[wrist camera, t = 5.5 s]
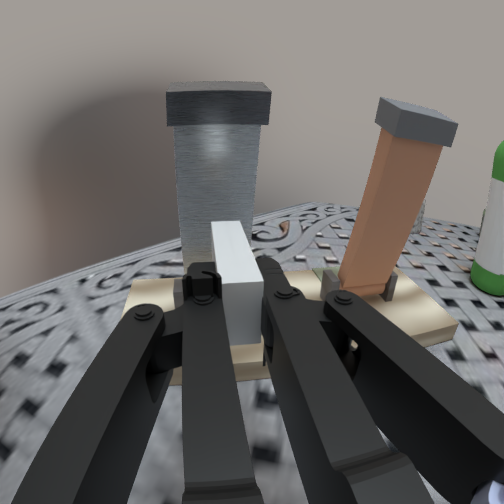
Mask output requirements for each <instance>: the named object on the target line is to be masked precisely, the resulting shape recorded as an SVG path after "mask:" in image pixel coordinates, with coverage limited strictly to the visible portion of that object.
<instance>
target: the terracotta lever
mask: <svg viewBox="0 0 504 504" xmlns="http://www.w3.org/2000/svg"><path fill="white" fill-rule="evenodd" d="M375 123H377V124H378V125H380V126H381V127H382V128H381V132H380V136H379V140H378V144H377V148H376V152H375V156H374V159H373V163H372V167H371V170H370V174H369V177H368V181H367V185H366V188H365V191H364V195H363V198H362V202H361V205H360V208H359V211H358V215H357V218H356V221H355V224H354V227H353V231H352V234H351V237H350V240H349V243H348V246H347V249H346V252H345V255H344V258H343V260H342V263H341V266H340V269H339V272H338V275H337V276H338V279H339V280H340V287H339V290H347V291H349V292H352V293H354V294H356V295H358V296H366V295H374V294H382V293H383V292H384V290H385V283H387V281H388V279H389V277H390V275H391V273H392V271H393V269H394V267H395V265H396V263H397V261H398V259H399V256H400V254H401V252H402V250H403V248H404V246H405V243H406V241H407V239H408V237H409V234H410V232H411V230H412V227H413V225H414V223H415V220H416V218H417V215H418V213H419V211H420V208H421V206H422V203H423V201H424V198H425V195H426V193H427V190H428V188H429V185H430V182H431V179H432V177H433V174H434V171H435V168H436V165H437V162H438V160H439V157H440V153H441V150H442V147H443V146H447V147H451V146H452V143H453V140H454V137H455V133H456V130H457V127H458V123H456V122H455V121H453V120H451V119H450V118H448V117H447V116H445V115H443V114H442V113H440V112H438V111H436V110H433V109H429V108H425V107H422V106H417V105H413V104H409V103H405V102H401V101H397V100H392V99H388V98H383V97H380V101H379V105H378V110H377V114H376V119H375Z"/></svg>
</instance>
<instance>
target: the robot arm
mask: <svg viewBox="0 0 504 504" xmlns="http://www.w3.org/2000/svg"><path fill="white" fill-rule="evenodd" d="M211 236H212V262H194V263H191V265H190V266H189V267H188V268H187V274H185V275H184V276H183V278H182V287H183V297H184V303H183V304H182V305H181V306H180V307H178V308H176V309H174V310H171V311H167V312H163V310H162V308H161V307H159V306H158V305H155V304H151V303H149V304H146V303H144V304H139V305H136V306H134V307H132V308H130V309H129V310H128V311H127V312H126V313H125V315H124V316H123V317H122V319H121V320H120V322H119V323H118V325H117V326H116V327H115V329H114V330H113V332H112V333H111V335H110V336H109V338H108V339H107V341H106V342H105V344H104V345H103V347H102V348H101V350H100V351H99V353H98V354H97V356H96V357H95V359H94V360H93V362H92V363H91V365H90V366H89V368H88V369H87V371H86V372H85V374H84V376H83V377H82V379H81V380H80V382H79V383H78V385H77V387H76V388H75V390H74V391H73V393H72V395H71V396H70V398H69V399H68V401H67V403H66V404H65V406H64V408H63V409H62V411H61V413H60V414H59V416H58V418H57V419H56V421H55V423H54V424H53V426H52V428H51V430H50V431H49V433H48V435H47V437H46V438H45V440H44V442H43V444H42V445H41V447H40V449H39V451H38V452H37V454H36V456H35V458H34V460H33V462H32V463H31V465H30V467H29V469H28V471H27V473H26V475H25V477H24V479H23V481H22V482H21V484H20V486H19V488H18V490H17V492H16V494H15V496H14V498H13V500H12V502H11V504H127V501H128V498H129V495H130V492H131V489H132V486H133V483H134V481H135V478H136V475H137V472H138V469H139V466H140V463H141V460H142V458H143V455H144V452H145V449H146V446H147V443H148V441H149V438H150V435H151V432H152V430H153V427H154V424H155V421H156V419H157V416H158V413H159V410H160V408H161V405H162V402H163V400H164V397H165V394H166V391H167V389H168V386H169V383H170V381H171V378H172V376H173V370H174V368H178V367H181V366H182V429H183V458H184V478H185V491H184V493H183V496H182V504H264V501H263V498H262V494H261V491H260V489H259V487H258V486H257V484H256V480H255V476H254V471H253V466H252V462H251V457H250V452H249V447H248V442H247V437H246V432H245V427H244V421H243V416H242V411H241V406H240V400H239V395H238V389H237V384H236V378H235V373H234V367H233V361H232V355H231V349H230V346H234V345H246V344H258V343H261V334H262V336H263V339H264V348H263V366H266V362H267V366H268V369H269V373H270V376H271V380H272V383H273V387H274V390H275V393H276V397H277V400H278V404H279V407H280V410H281V414H282V417H283V421H284V424H285V427H286V431H287V434H288V437H289V441H290V444H291V447H292V451H293V454H294V457H295V460H296V464H297V467H298V470H299V474H300V477H301V480H302V483H303V487H304V490H305V493H306V496H307V499H308V503H309V504H434V502H433V500H432V498H431V496H430V494H429V492H428V490H427V488H426V487H425V485H424V483H423V481H422V479H421V477H420V475H419V474H418V472H419V473H420V474H421V475H422V476H423V477H424V478H425V479H426V480H427V481H428V482H429V483H430V485H431V486H432V487H433V488H434V489H435V490H436V491H437V492H438V493H439V494H440V495H441V496H442V497H444V498H445V499H446V500H447V501H448V502H450V503H451V504H504V414H503V413H502V412H501V411H500V410H499V409H498V408H496V407H495V406H494V405H493V404H492V403H491V402H489V401H488V400H487V399H486V398H485V397H484V396H482V395H481V394H480V393H479V392H478V391H476V390H475V389H474V388H473V387H472V386H470V385H469V384H468V383H467V382H466V381H464V380H463V379H462V378H461V377H460V376H458V375H457V374H456V373H455V372H453V371H452V370H451V369H450V368H449V367H447V366H446V365H445V364H444V363H442V362H441V361H440V360H439V359H438V358H436V357H435V356H434V355H433V354H431V353H430V352H429V351H428V350H426V349H425V348H424V347H423V346H421V345H420V344H419V343H418V342H416V341H415V340H414V339H413V338H411V337H410V336H409V335H408V334H406V333H405V332H404V331H403V330H401V329H400V328H399V327H398V326H396V325H395V324H394V323H392V322H391V321H390V320H389V319H387V318H386V317H385V316H384V315H382V314H381V313H380V312H378V311H377V310H376V309H375V308H373V307H372V306H371V305H369V304H368V303H367V302H366V301H364V300H363V299H362V298H360V297H359V296H358V295H356V294H354V293H352V292H349V291H347V290H334V291H331V292H328V293H327V295H326V296H325V301H318V300H310V299H306V298H305V296H304V294H303V293H302V292H301V290H300V289H298V288H296V287H293V286H291V285H290V283H289V281H288V280H287V278H286V276H285V274H284V272H283V270H282V269H281V267H280V265H279V263H278V262H277V261H275V260H274V259H272V258H258V259H255V258H254V255H253V253H252V250H251V248H250V245H249V243H248V240H247V238H246V235H245V233H244V230H243V228H242V225H241V223H240V221H217V222H211ZM352 340H353V341H354V342H355V343H356V344H357V345H358V346H357V349H355V348H354V347H353V346H352V345H351V344H352ZM377 427H378V428H379V429H380V430H381V431H382V432H383V433H384V435H385V436H386V437H387V438H388V439H389V440H390V441H391V442H392V443H393V444H394V446H395V447H396V448H397V449H398V450H399V451H400V452H392V451H390V450H389V448H388V447H387V445H386V443H385V441H384V440H383V438H382V436H381V434H380V432H379V430H378V428H377ZM417 471H418V472H417Z"/></svg>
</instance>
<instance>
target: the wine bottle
mask: <svg viewBox="0 0 504 504" xmlns="http://www.w3.org/2000/svg"><path fill="white" fill-rule="evenodd" d="M471 279H472V282H473V283H474V284H475V285H476V286H477V287H478V288H480V289H481V290H483V291H485V292H487V293H489V294H492V295H497V296H502V295H504V141H503V142H502V143H501V144H500V145H499V146H498V148H497V150H496V152H495V156H494V163H493V171H492V177H491V183H490V190H489V195H488V201H487V206H486V211H485V216H484V221H483V225H482V230H481V234H480V238H479V242H478V246H477V250H476V254H475V258H474V261H473V265H472V268H471Z"/></svg>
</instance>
